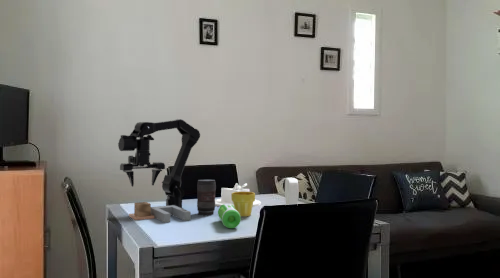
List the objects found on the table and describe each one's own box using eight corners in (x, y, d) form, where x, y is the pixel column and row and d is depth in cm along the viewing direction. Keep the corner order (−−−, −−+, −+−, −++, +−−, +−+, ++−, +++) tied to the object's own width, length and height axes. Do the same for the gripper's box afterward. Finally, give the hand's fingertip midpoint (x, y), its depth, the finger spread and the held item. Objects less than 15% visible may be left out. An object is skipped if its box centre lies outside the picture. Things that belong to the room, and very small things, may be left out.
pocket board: (173, 213, 201) (174, 205, 201) (190, 220, 186) (190, 211, 186) (149, 215, 196) (149, 207, 196) (164, 222, 180) (164, 213, 180)
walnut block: (145, 213, 194) (146, 201, 194) (150, 215, 189) (150, 203, 189) (134, 214, 191) (134, 202, 191) (138, 216, 186) (138, 204, 186)
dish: (269, 203, 235) (269, 181, 235) (243, 210, 213) (243, 186, 213) (229, 199, 248) (230, 178, 247) (201, 205, 226) (201, 182, 226)
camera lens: (218, 213, 203) (219, 179, 202) (209, 216, 195) (209, 181, 195) (202, 211, 206) (203, 178, 206) (193, 214, 199) (193, 180, 199)
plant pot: (227, 216, 196) (227, 193, 196) (236, 212, 206) (236, 190, 205) (250, 218, 192) (250, 195, 192) (257, 214, 202) (258, 192, 202)
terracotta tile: (147, 214, 197) (147, 212, 197) (154, 218, 189) (154, 215, 189) (128, 216, 192) (129, 213, 192) (135, 220, 185) (135, 217, 185)
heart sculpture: (300, 227, 176) (300, 180, 176) (287, 227, 176) (287, 180, 176) (294, 219, 192) (295, 176, 192) (282, 219, 192) (283, 176, 191)
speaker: (217, 220, 187) (217, 202, 187) (234, 220, 188) (235, 202, 188) (222, 230, 170) (222, 209, 170) (241, 229, 171) (241, 209, 171)
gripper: (156, 149, 212) (156, 182, 212) (116, 150, 202) (116, 185, 202) (165, 150, 202) (165, 185, 203) (123, 151, 192) (123, 188, 193)
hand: (142, 185), depth 200 cm, fingers open, 9 cm apart
